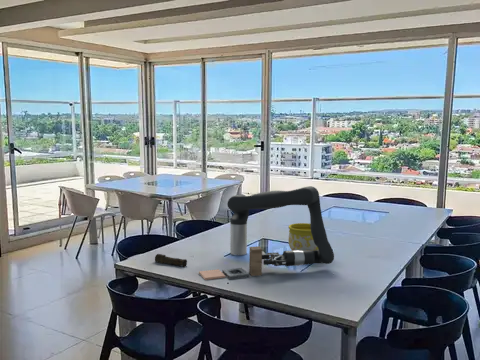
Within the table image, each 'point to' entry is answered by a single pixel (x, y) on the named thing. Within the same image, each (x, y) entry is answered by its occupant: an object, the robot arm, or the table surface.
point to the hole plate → (234, 276)
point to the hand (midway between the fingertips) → (261, 259)
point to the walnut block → (255, 261)
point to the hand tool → (170, 260)
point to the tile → (211, 274)
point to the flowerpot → (301, 237)
